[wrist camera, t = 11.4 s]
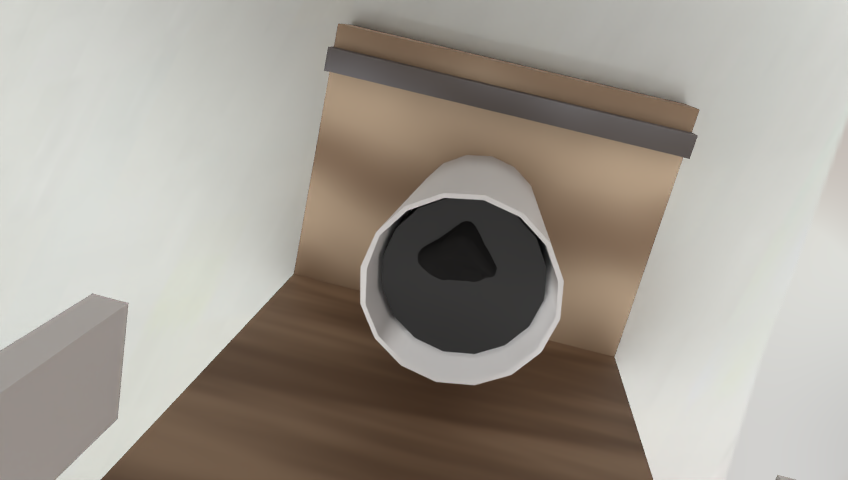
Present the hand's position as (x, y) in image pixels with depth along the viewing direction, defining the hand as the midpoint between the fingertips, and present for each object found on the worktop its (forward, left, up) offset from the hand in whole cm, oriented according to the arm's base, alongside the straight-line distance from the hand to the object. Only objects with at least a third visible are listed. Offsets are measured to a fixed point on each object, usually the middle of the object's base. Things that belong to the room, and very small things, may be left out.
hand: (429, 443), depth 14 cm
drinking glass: (0, 0, -19) cm, 19 cm away
